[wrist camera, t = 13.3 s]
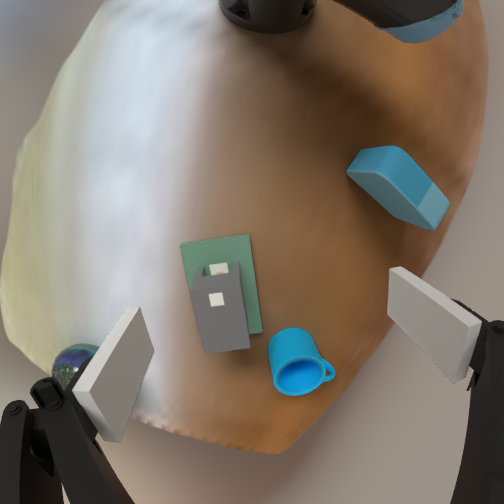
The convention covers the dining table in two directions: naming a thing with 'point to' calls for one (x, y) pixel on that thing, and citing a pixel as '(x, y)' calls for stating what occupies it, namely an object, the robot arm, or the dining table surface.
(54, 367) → the vase
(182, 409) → the dining table surface
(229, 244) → the header board
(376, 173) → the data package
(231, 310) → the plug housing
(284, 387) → the mug
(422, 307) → the robot arm
